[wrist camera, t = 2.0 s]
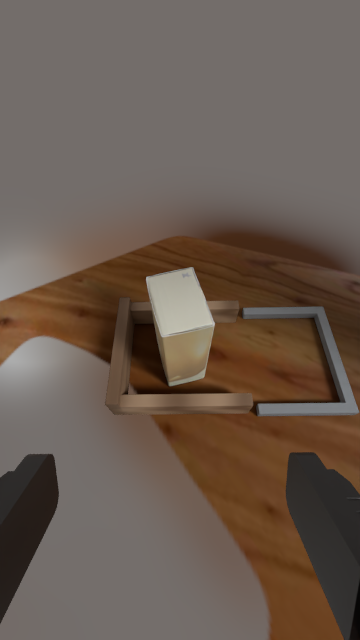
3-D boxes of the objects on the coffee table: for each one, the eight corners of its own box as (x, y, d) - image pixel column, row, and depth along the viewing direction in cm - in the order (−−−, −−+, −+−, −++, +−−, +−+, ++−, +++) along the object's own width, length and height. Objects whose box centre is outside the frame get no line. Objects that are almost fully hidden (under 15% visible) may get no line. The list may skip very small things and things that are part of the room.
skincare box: (156, 340, 34) (143, 273, 23) (190, 332, 34) (192, 263, 24) (168, 390, 30) (159, 337, 20) (206, 380, 31) (216, 324, 21)
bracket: (319, 311, 36) (323, 306, 35) (354, 415, 29) (359, 412, 28) (241, 312, 36) (243, 307, 35) (257, 416, 29) (259, 413, 28)
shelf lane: (234, 314, 36) (239, 295, 32) (247, 413, 29) (255, 402, 26) (126, 316, 36) (119, 297, 32) (114, 414, 29) (105, 404, 26)
